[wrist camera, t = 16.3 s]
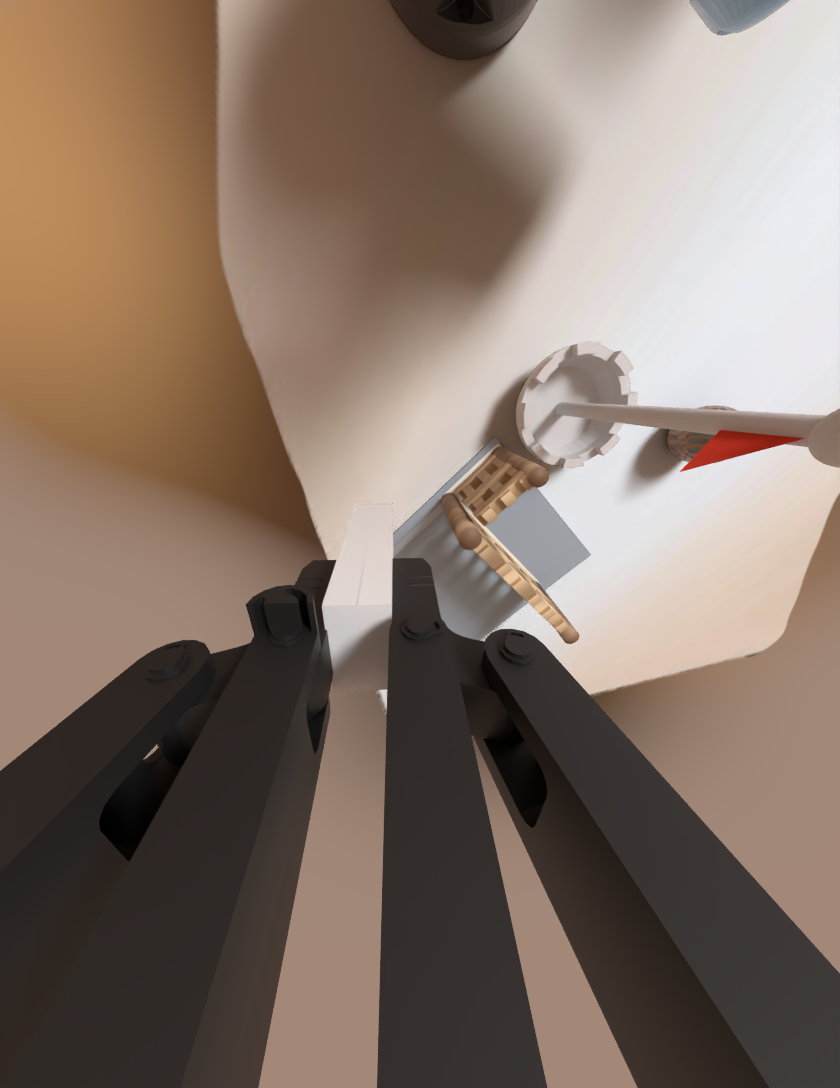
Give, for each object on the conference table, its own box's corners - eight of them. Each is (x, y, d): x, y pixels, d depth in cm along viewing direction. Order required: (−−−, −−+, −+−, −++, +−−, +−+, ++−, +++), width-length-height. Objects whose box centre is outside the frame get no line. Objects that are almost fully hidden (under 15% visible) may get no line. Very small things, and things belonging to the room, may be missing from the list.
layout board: (343, 581, 48) (342, 582, 48) (494, 436, 41) (496, 437, 40) (450, 659, 57) (450, 662, 57) (589, 553, 50) (591, 555, 50)
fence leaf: (452, 515, 44) (473, 554, 33) (463, 505, 44) (487, 542, 33) (531, 593, 51) (569, 646, 41) (541, 586, 51) (582, 637, 40)
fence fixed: (436, 500, 44) (454, 540, 32) (498, 441, 41) (542, 461, 29) (447, 511, 45) (469, 554, 33) (508, 455, 42) (556, 479, 30)
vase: (705, 447, 44) (774, 459, 36) (657, 465, 45) (714, 480, 37) (709, 396, 41) (784, 397, 33) (656, 416, 42) (719, 421, 34)
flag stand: (594, 325, 36) (1178, 134, 10) (616, 430, 42) (1025, 497, 15) (492, 383, 38) (743, 360, 11) (526, 476, 44) (749, 612, 17)
